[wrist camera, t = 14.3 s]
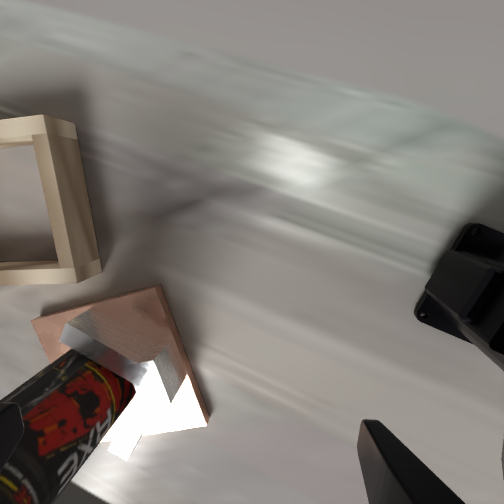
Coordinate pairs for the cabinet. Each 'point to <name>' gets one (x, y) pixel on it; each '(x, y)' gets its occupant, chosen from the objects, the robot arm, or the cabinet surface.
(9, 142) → the beige square frame
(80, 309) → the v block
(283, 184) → the cabinet surface
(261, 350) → the cabinet surface
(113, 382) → the deodorant
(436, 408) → the cabinet surface
